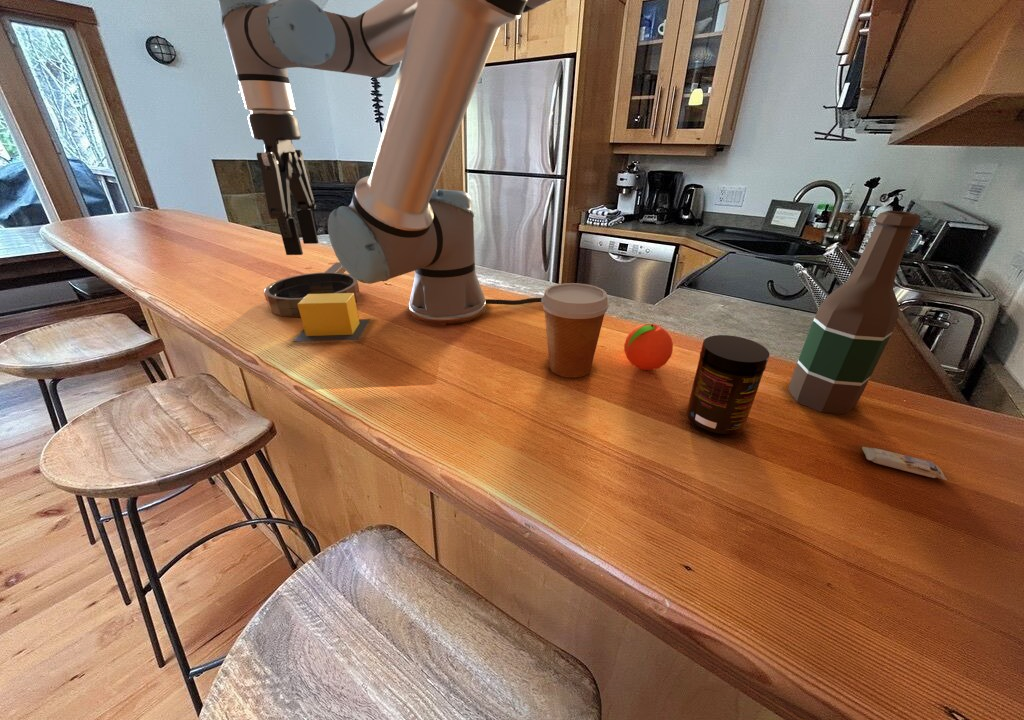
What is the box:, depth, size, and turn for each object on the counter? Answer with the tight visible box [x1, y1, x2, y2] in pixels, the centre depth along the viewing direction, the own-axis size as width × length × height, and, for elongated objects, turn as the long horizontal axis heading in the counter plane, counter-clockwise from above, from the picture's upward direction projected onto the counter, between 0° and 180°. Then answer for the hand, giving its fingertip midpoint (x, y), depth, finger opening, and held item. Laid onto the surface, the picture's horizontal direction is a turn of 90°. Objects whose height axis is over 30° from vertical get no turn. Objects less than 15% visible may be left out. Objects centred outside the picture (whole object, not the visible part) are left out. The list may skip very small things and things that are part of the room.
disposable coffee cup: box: [540, 282, 610, 379], centre depth 60 cm, size 10×10×12 cm
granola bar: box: [861, 446, 948, 481], centre depth 44 cm, size 7×2×1 cm, turn 63°
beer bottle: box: [788, 210, 921, 415], centre depth 50 cm, size 8×8×24 cm
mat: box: [292, 318, 371, 343], centre depth 74 cm, size 11×9×1 cm
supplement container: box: [685, 334, 771, 439], centre depth 48 cm, size 7×7×10 cm
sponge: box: [298, 293, 360, 336], centre depth 73 cm, size 8×5×6 cm, turn 94°
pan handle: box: [324, 261, 347, 273], centre depth 98 cm, size 3×11×2 cm, turn 4°
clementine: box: [623, 323, 674, 371], centre depth 61 cm, size 8×7×7 cm
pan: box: [263, 271, 361, 318], centre depth 86 cm, size 18×18×4 cm
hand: (303, 248), depth 80 cm, fingers open, 8 cm apart
